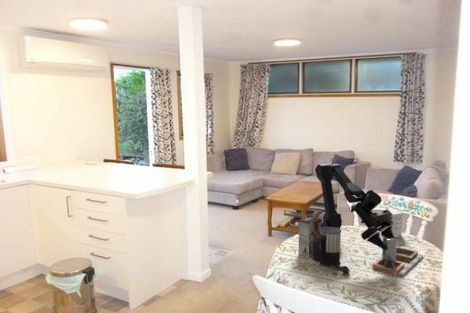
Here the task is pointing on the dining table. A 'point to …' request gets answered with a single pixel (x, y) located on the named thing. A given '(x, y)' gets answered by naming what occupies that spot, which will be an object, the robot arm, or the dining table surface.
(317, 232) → the coffee box
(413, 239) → the dining table surface
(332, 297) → the dining table surface
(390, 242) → the grey peg
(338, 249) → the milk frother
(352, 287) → the dining table surface
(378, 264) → the socket rail
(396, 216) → the supplement box
